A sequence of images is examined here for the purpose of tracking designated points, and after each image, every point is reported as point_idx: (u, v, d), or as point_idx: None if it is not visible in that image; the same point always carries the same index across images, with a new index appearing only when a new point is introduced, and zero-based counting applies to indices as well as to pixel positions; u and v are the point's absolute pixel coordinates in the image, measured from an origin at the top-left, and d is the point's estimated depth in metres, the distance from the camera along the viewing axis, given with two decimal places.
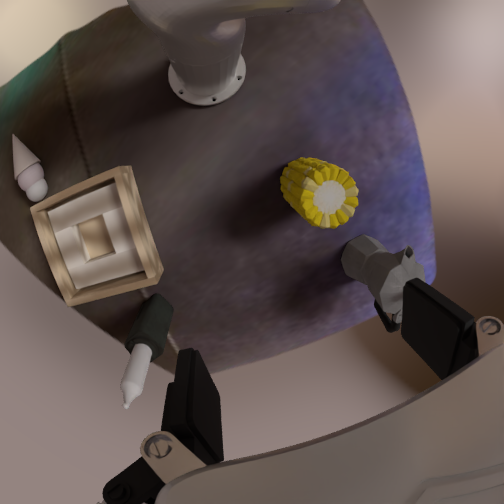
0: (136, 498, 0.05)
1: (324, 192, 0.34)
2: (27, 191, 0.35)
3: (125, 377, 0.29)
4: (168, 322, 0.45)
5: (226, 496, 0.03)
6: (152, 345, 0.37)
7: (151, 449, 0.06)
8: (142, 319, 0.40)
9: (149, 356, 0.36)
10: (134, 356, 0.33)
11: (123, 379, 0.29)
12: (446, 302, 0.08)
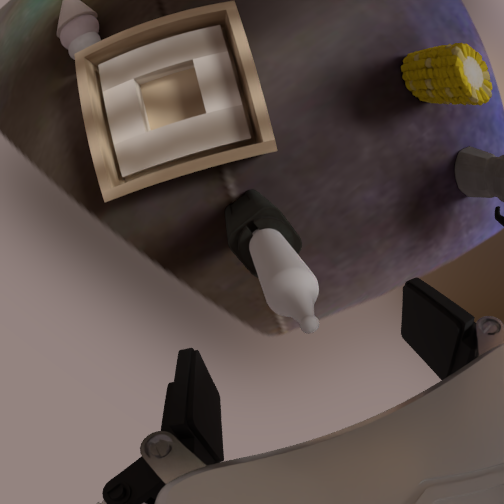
0: (136, 498, 0.05)
1: (469, 66, 0.19)
2: (72, 42, 0.20)
3: (279, 264, 0.15)
4: None
5: (226, 496, 0.03)
6: (290, 231, 0.22)
7: (151, 449, 0.06)
8: (254, 202, 0.25)
9: None
10: (271, 239, 0.19)
11: (276, 269, 0.14)
12: (446, 302, 0.08)
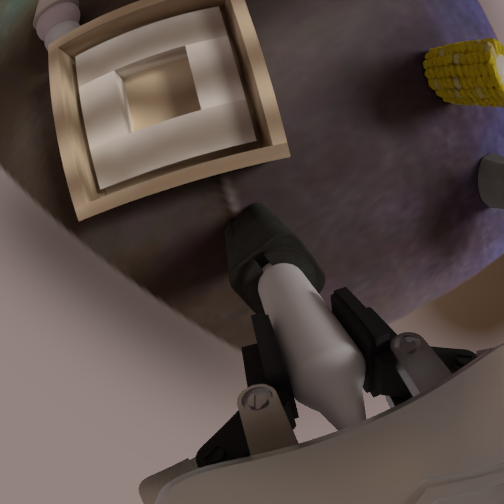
0: None
1: (501, 64, 0.14)
2: (48, 33, 0.15)
3: (312, 339, 0.09)
4: None
5: (226, 496, 0.03)
6: (312, 266, 0.16)
7: (249, 403, 0.07)
8: (262, 223, 0.20)
9: None
10: (291, 286, 0.13)
11: (308, 349, 0.09)
12: (364, 314, 0.09)
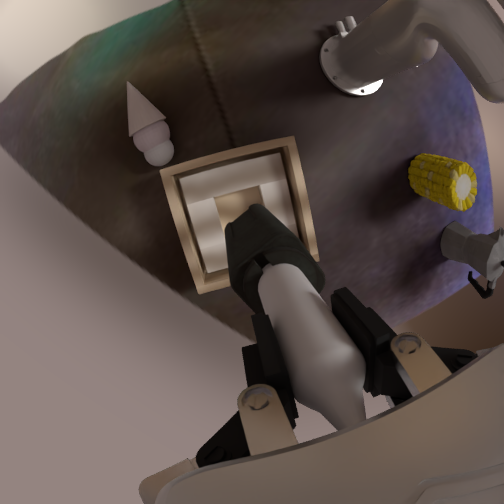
0: None
1: (461, 182, 0.34)
2: (150, 151, 0.35)
3: (312, 340, 0.09)
4: None
5: (226, 496, 0.03)
6: (312, 266, 0.16)
7: (249, 403, 0.07)
8: (262, 223, 0.20)
9: None
10: (292, 286, 0.13)
11: (308, 350, 0.09)
12: (364, 314, 0.09)
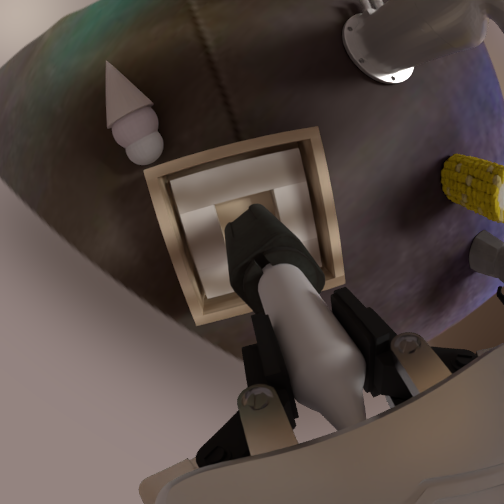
0: None
1: (503, 190, 0.25)
2: (132, 146, 0.27)
3: (312, 340, 0.09)
4: None
5: (226, 496, 0.03)
6: (312, 266, 0.16)
7: (249, 403, 0.07)
8: (263, 223, 0.20)
9: None
10: (292, 286, 0.13)
11: (308, 351, 0.09)
12: (364, 314, 0.09)
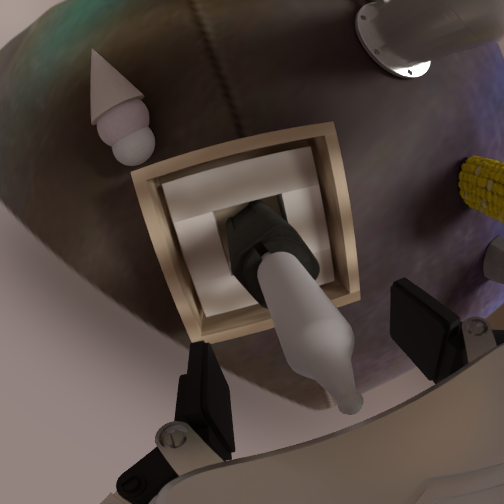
0: (150, 491, 0.05)
1: None
2: (119, 144, 0.23)
3: (305, 312, 0.11)
4: None
5: (226, 496, 0.03)
6: (307, 255, 0.18)
7: (166, 439, 0.06)
8: (262, 216, 0.21)
9: None
10: (288, 270, 0.15)
11: (302, 321, 0.10)
12: (432, 302, 0.08)
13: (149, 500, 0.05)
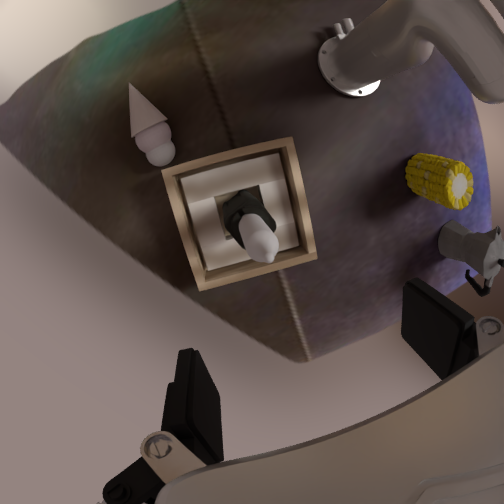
0: (136, 498, 0.05)
1: (457, 182, 0.35)
2: (152, 151, 0.36)
3: (254, 229, 0.24)
4: None
5: (226, 496, 0.03)
6: (267, 216, 0.32)
7: (151, 449, 0.06)
8: (243, 197, 0.35)
9: None
10: (252, 219, 0.28)
11: (252, 232, 0.24)
12: (446, 302, 0.08)
13: None
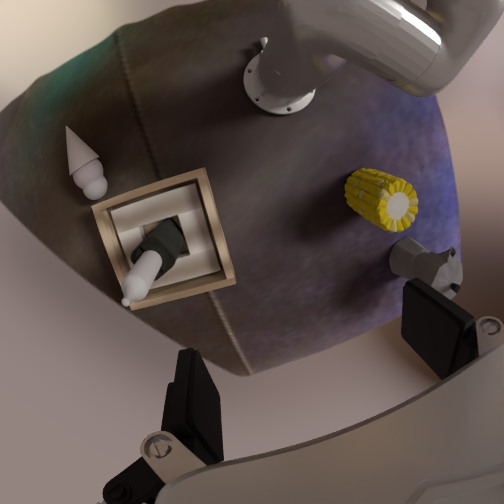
0: (136, 498, 0.05)
1: (394, 201, 0.37)
2: (85, 188, 0.39)
3: (129, 273, 0.26)
4: (180, 242, 0.42)
5: (226, 496, 0.03)
6: (163, 252, 0.34)
7: (151, 449, 0.06)
8: (153, 231, 0.37)
9: (159, 263, 0.33)
10: (141, 258, 0.30)
11: (126, 275, 0.26)
12: (446, 302, 0.08)
13: None
